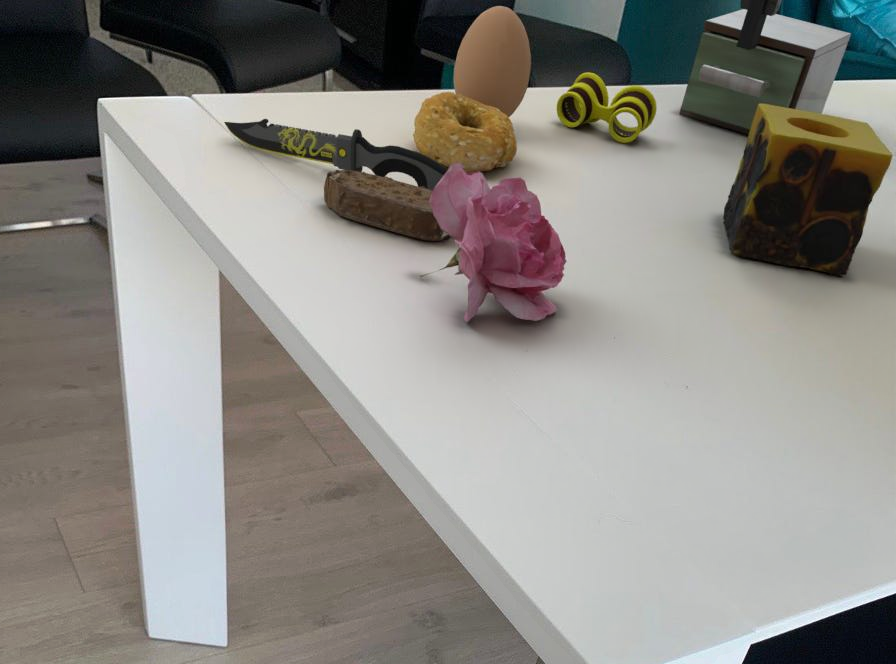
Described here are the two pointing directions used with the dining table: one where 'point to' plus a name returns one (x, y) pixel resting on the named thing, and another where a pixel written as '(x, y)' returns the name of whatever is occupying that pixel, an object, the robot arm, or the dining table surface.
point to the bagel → (464, 133)
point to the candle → (804, 189)
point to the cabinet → (793, 37)
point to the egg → (494, 61)
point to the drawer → (739, 79)
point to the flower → (499, 242)
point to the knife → (339, 151)
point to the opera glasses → (606, 106)
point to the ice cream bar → (383, 203)
